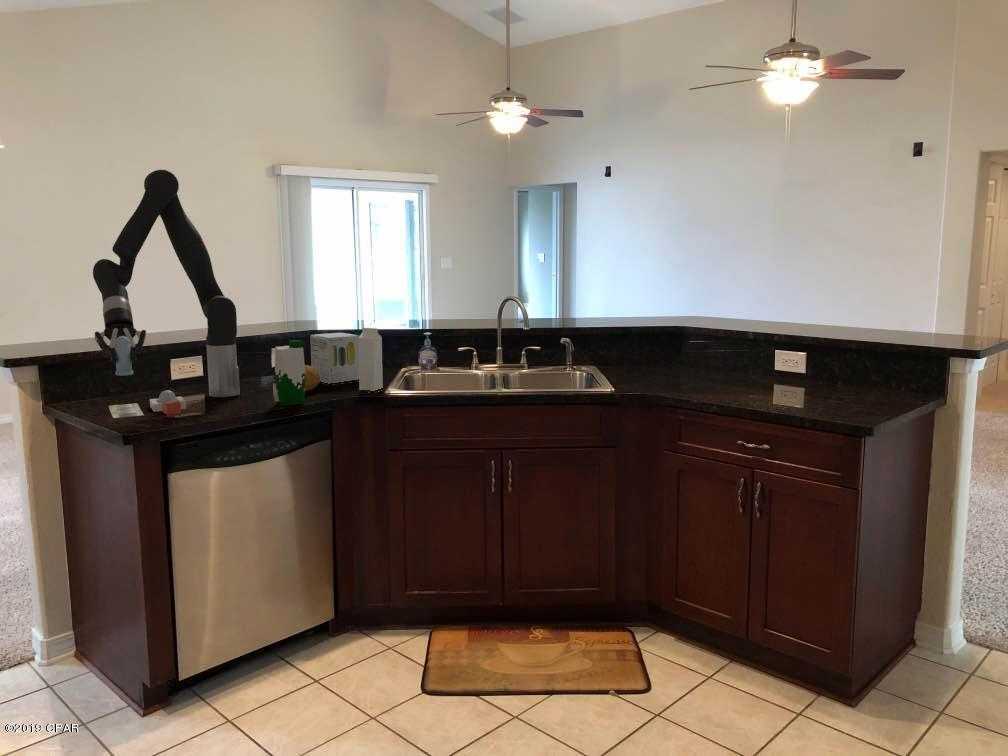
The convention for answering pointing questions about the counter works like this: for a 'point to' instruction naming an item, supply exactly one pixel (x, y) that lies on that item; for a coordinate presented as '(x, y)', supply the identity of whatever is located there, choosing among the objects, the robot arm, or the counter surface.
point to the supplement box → (335, 357)
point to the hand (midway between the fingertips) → (124, 360)
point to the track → (125, 410)
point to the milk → (370, 360)
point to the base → (158, 406)
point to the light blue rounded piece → (167, 396)
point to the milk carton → (290, 373)
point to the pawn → (123, 356)
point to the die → (171, 408)
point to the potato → (311, 377)
